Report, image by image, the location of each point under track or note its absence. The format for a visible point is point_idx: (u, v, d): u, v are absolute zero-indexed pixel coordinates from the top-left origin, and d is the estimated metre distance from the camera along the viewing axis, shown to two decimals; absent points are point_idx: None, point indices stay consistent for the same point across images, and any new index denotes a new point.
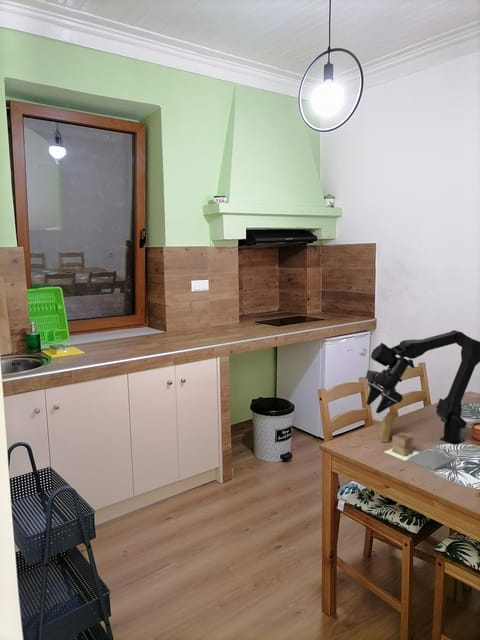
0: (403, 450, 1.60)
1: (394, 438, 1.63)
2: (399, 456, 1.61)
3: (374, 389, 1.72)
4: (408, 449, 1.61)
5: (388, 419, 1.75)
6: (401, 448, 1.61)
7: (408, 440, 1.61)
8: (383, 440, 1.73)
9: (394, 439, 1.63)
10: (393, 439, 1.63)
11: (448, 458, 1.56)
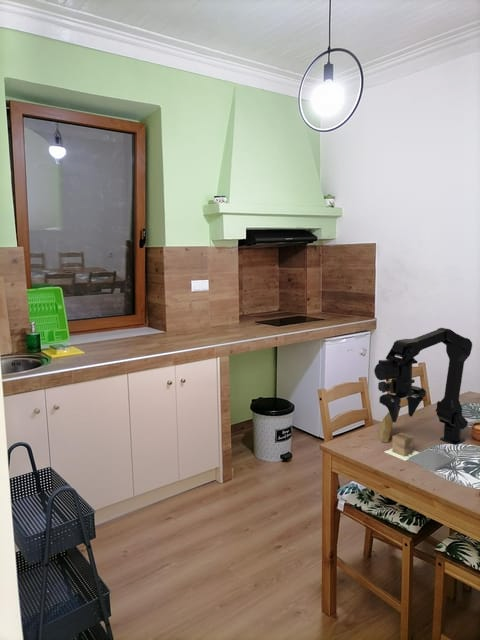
0: (403, 450, 1.60)
1: (394, 438, 1.63)
2: (399, 456, 1.61)
3: (409, 399, 1.65)
4: (408, 449, 1.61)
5: (388, 419, 1.75)
6: (401, 448, 1.61)
7: (408, 440, 1.61)
8: (383, 440, 1.73)
9: (394, 439, 1.63)
10: (393, 439, 1.63)
11: (448, 458, 1.56)
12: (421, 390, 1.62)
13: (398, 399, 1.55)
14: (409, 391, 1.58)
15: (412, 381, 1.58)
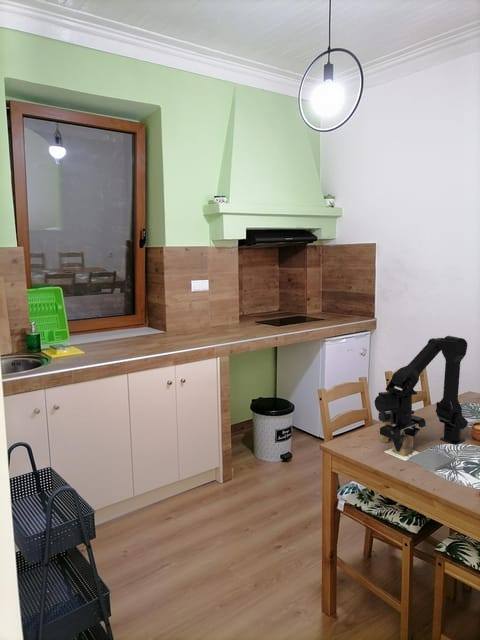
0: (403, 450, 1.60)
1: None
2: (399, 456, 1.61)
3: (406, 430, 1.65)
4: (408, 449, 1.61)
5: None
6: (401, 448, 1.61)
7: (408, 440, 1.61)
8: (383, 440, 1.73)
9: None
10: None
11: (448, 458, 1.56)
12: (421, 420, 1.64)
13: (398, 431, 1.56)
14: (409, 422, 1.59)
15: (412, 412, 1.60)
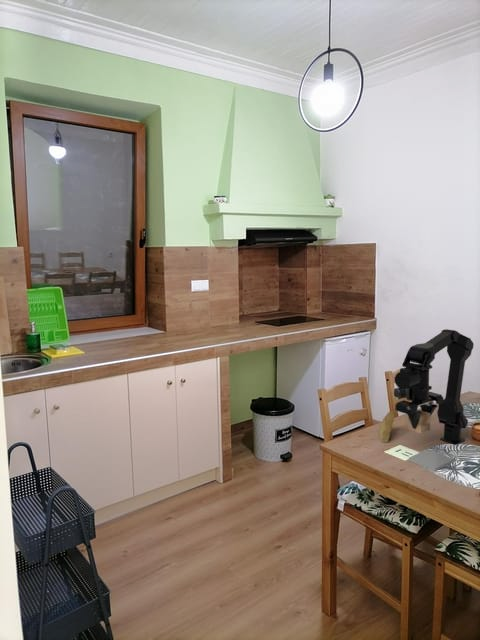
0: (420, 427, 1.55)
1: None
2: (399, 456, 1.61)
3: (423, 407, 1.59)
4: (425, 426, 1.56)
5: (388, 419, 1.75)
6: (417, 425, 1.55)
7: (425, 416, 1.55)
8: (383, 440, 1.73)
9: None
10: None
11: (448, 458, 1.56)
12: (438, 396, 1.58)
13: (414, 406, 1.51)
14: (426, 398, 1.54)
15: (429, 388, 1.54)
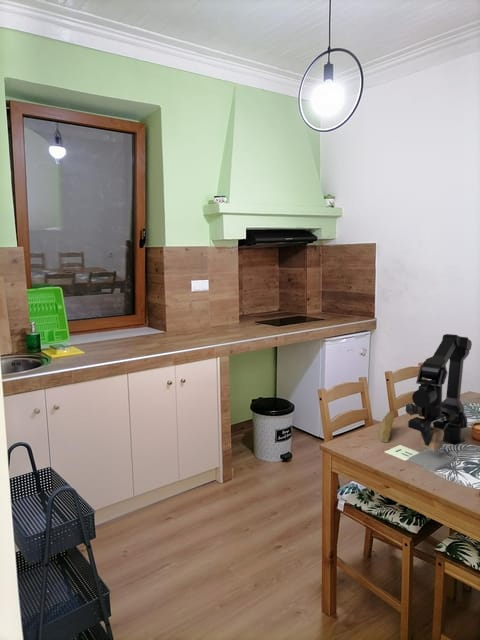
0: (433, 444, 1.52)
1: None
2: (399, 456, 1.61)
3: (435, 423, 1.57)
4: (438, 442, 1.53)
5: (388, 419, 1.75)
6: (430, 442, 1.53)
7: (438, 433, 1.53)
8: (383, 440, 1.73)
9: None
10: None
11: (448, 458, 1.56)
12: (451, 412, 1.56)
13: (428, 424, 1.48)
14: (439, 414, 1.52)
15: (442, 404, 1.52)
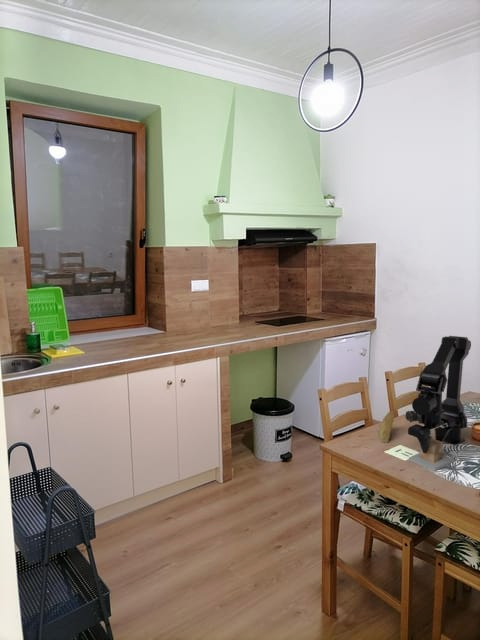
0: (432, 456, 1.53)
1: None
2: (399, 456, 1.61)
3: (437, 429, 1.58)
4: (438, 455, 1.54)
5: (388, 419, 1.75)
6: (430, 454, 1.54)
7: (438, 446, 1.54)
8: (383, 440, 1.73)
9: None
10: None
11: (448, 458, 1.56)
12: (450, 419, 1.56)
13: (428, 431, 1.49)
14: (439, 422, 1.52)
15: (442, 411, 1.52)
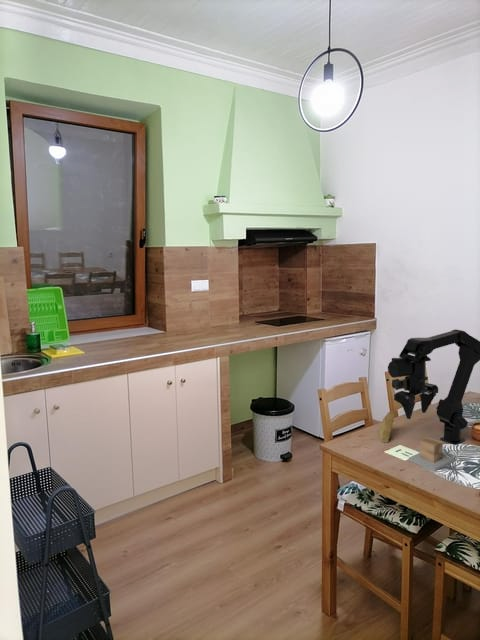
0: (432, 456, 1.53)
1: (422, 443, 1.56)
2: (399, 456, 1.61)
3: (422, 396, 1.68)
4: (438, 455, 1.54)
5: (388, 419, 1.75)
6: (430, 454, 1.54)
7: (438, 446, 1.54)
8: (383, 440, 1.73)
9: (422, 444, 1.56)
10: (421, 444, 1.56)
11: (448, 458, 1.56)
12: (434, 387, 1.66)
13: (413, 396, 1.58)
14: (423, 388, 1.61)
15: (425, 378, 1.61)
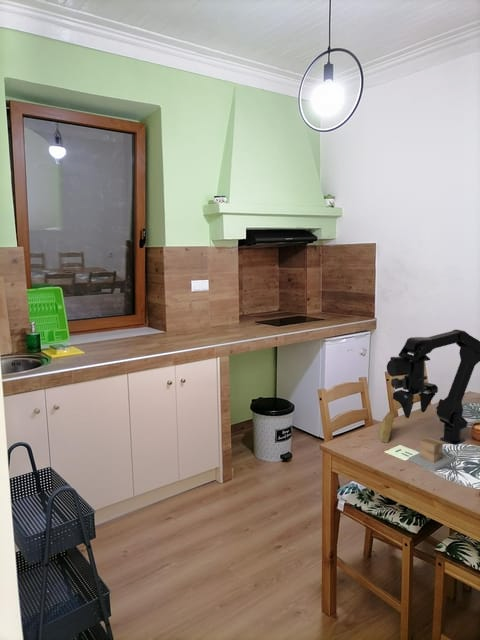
0: (432, 456, 1.53)
1: (422, 443, 1.56)
2: (399, 456, 1.61)
3: (422, 395, 1.68)
4: (438, 455, 1.54)
5: (388, 419, 1.75)
6: (430, 454, 1.54)
7: (438, 446, 1.54)
8: (383, 440, 1.73)
9: (422, 444, 1.56)
10: (421, 444, 1.56)
11: (448, 458, 1.56)
12: (433, 386, 1.66)
13: (411, 395, 1.58)
14: (422, 387, 1.62)
15: (424, 377, 1.62)
